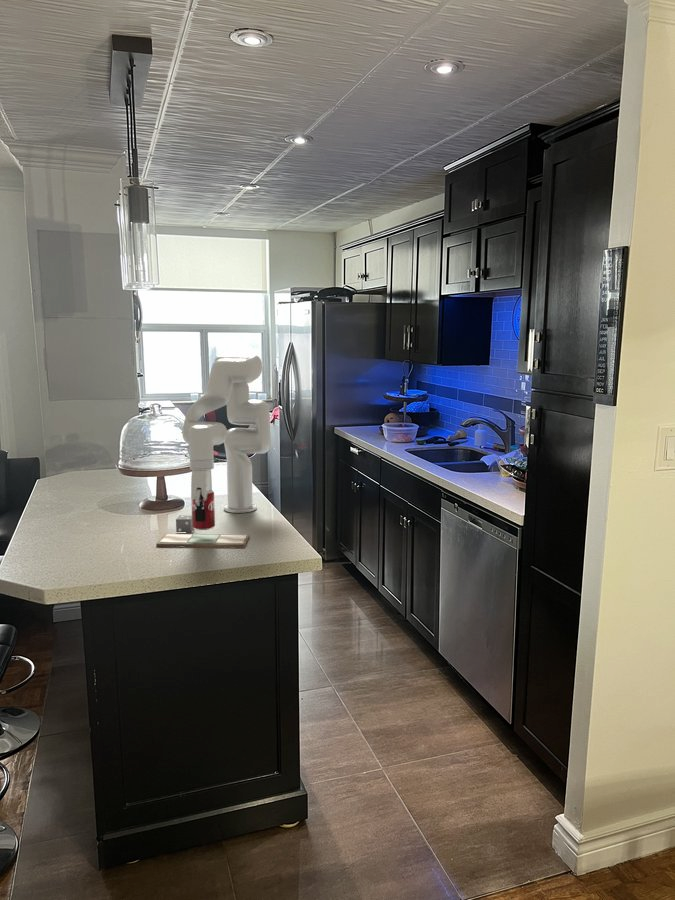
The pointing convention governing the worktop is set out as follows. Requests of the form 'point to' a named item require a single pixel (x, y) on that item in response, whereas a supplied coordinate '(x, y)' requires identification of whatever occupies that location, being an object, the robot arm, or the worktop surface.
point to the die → (184, 524)
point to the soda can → (209, 513)
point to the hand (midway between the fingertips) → (203, 517)
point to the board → (203, 540)
